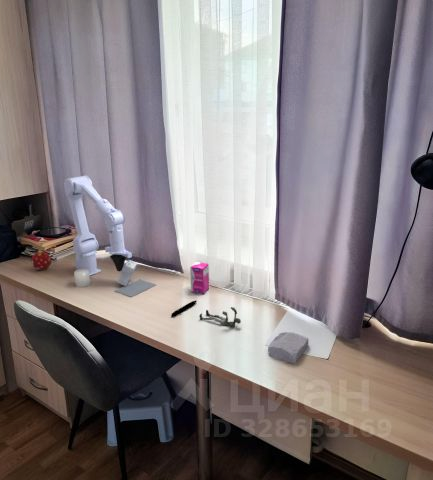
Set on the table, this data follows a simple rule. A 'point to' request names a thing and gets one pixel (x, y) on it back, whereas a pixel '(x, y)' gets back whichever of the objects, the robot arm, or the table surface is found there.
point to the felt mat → (135, 288)
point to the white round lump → (82, 278)
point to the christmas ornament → (41, 260)
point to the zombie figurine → (223, 320)
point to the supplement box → (199, 278)
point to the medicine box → (127, 272)
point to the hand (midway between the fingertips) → (120, 270)
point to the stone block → (288, 347)
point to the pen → (183, 309)
